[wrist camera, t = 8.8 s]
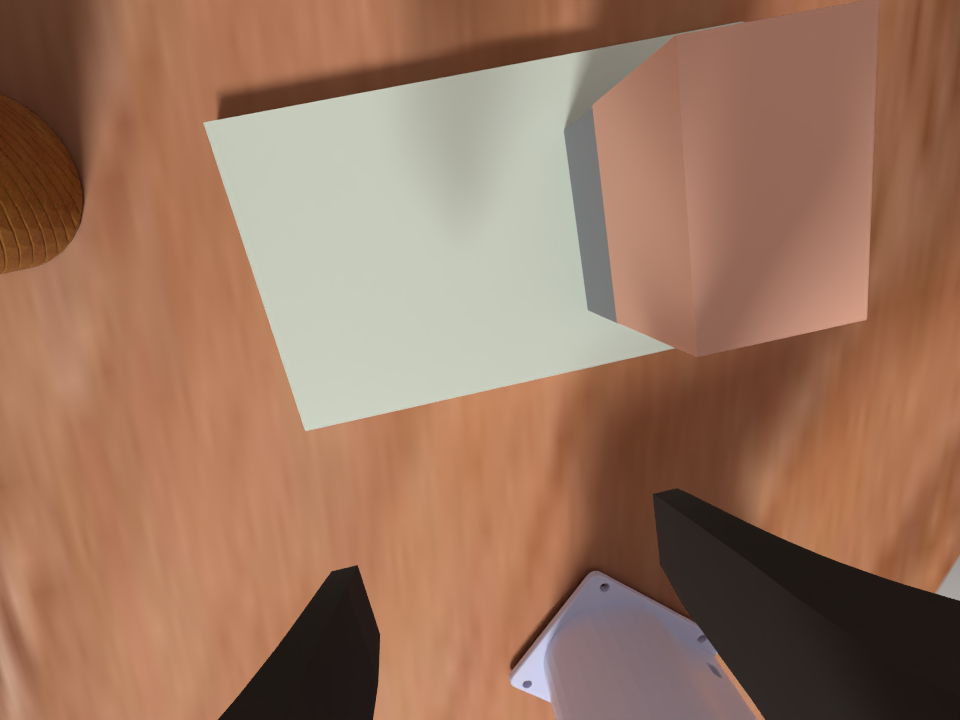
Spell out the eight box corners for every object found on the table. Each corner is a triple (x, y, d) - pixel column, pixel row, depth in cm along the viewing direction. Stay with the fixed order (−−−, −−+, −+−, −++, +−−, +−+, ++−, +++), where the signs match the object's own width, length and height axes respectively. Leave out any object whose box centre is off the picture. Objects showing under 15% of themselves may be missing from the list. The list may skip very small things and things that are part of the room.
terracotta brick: (729, 78, 14) (879, -2, 10) (737, 296, 16) (866, 319, 11) (592, 104, 14) (675, 35, 9) (616, 322, 16) (696, 357, 11)
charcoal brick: (676, 108, 17) (729, 80, 14) (689, 288, 19) (738, 297, 16) (563, 130, 17) (592, 106, 14) (587, 310, 19) (617, 323, 16)
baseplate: (726, 33, 18) (743, 21, 17) (738, 326, 21) (753, 330, 20) (216, 129, 17) (203, 122, 16) (311, 421, 20) (305, 431, 19)
